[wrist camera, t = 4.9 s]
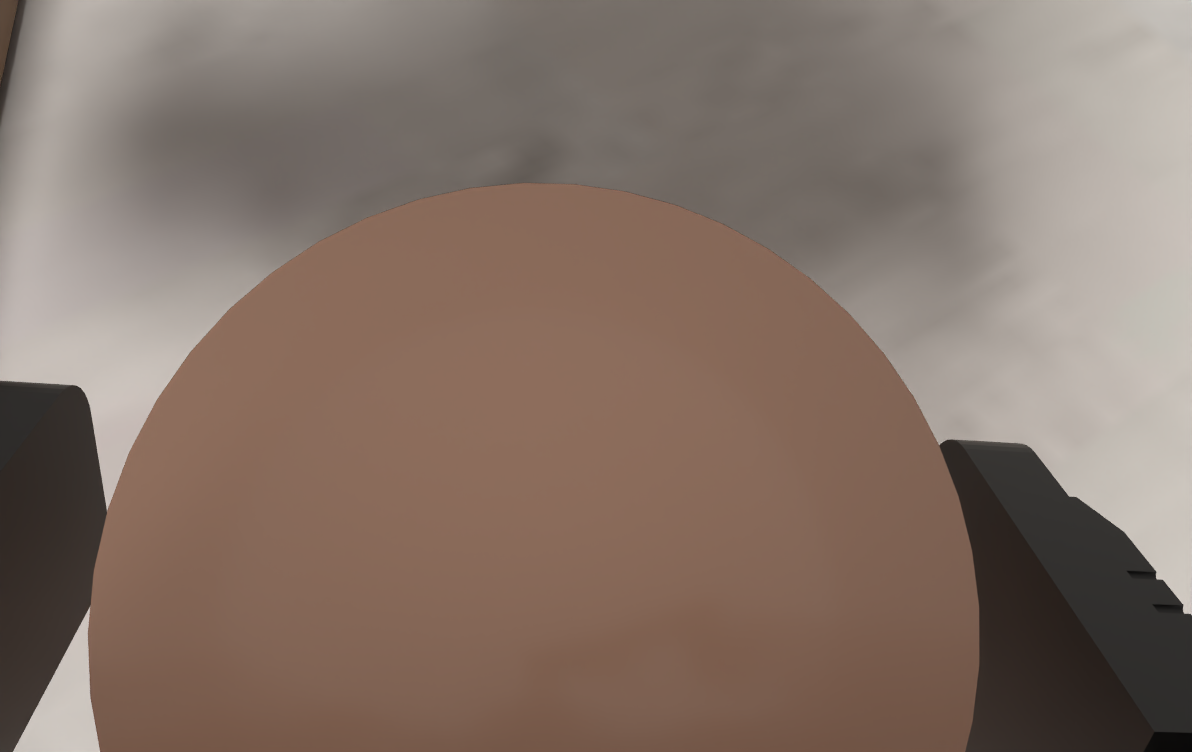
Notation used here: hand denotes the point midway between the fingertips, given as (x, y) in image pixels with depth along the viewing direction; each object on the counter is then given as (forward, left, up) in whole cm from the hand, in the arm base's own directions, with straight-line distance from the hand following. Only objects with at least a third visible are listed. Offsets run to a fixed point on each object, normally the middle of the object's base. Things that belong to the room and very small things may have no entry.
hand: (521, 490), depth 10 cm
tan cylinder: (0, +1, -5) cm, 5 cm away
